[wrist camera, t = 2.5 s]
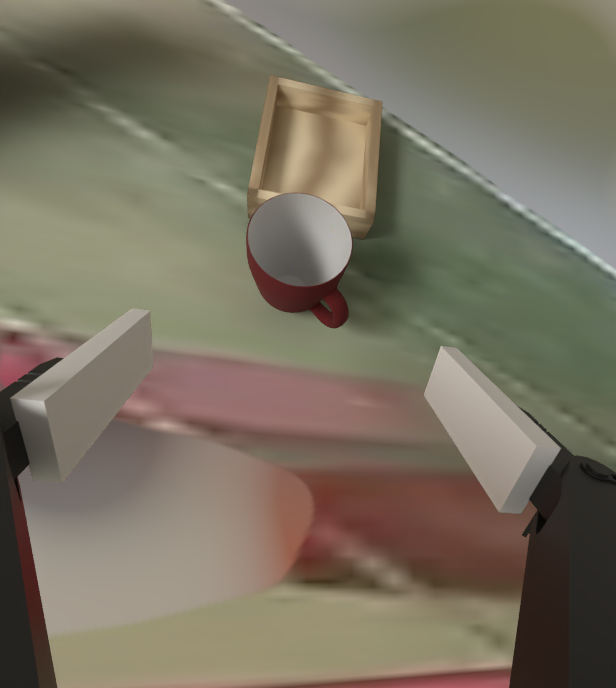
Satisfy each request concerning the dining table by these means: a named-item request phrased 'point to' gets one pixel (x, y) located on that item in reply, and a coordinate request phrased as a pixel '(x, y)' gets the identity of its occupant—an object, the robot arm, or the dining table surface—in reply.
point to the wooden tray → (318, 150)
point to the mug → (300, 255)
